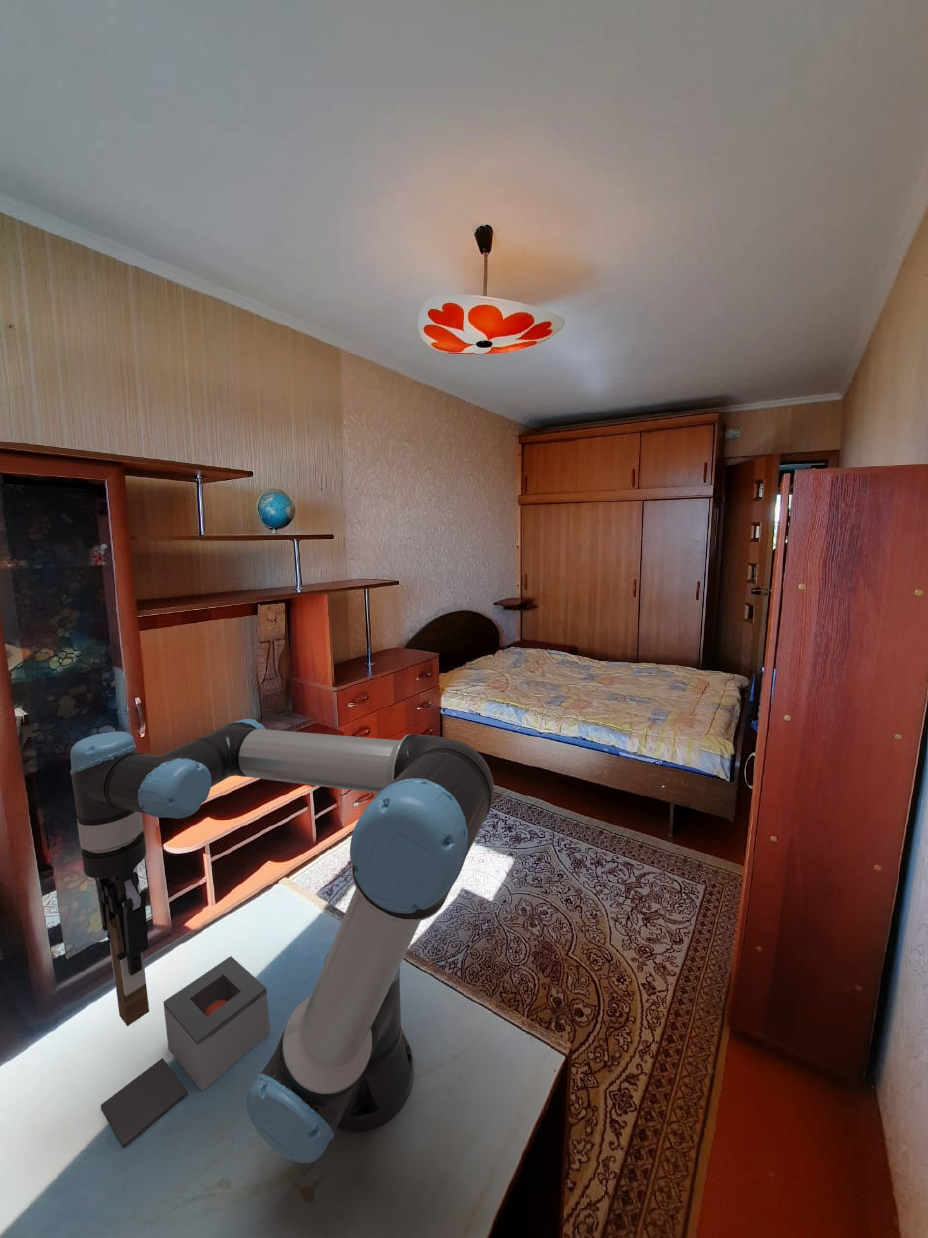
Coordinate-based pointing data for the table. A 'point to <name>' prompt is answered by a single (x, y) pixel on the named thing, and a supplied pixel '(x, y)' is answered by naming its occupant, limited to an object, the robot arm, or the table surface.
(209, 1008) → the red ball
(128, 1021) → the wooden stick
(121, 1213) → the table surface
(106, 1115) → the mat
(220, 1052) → the grey box with opening
